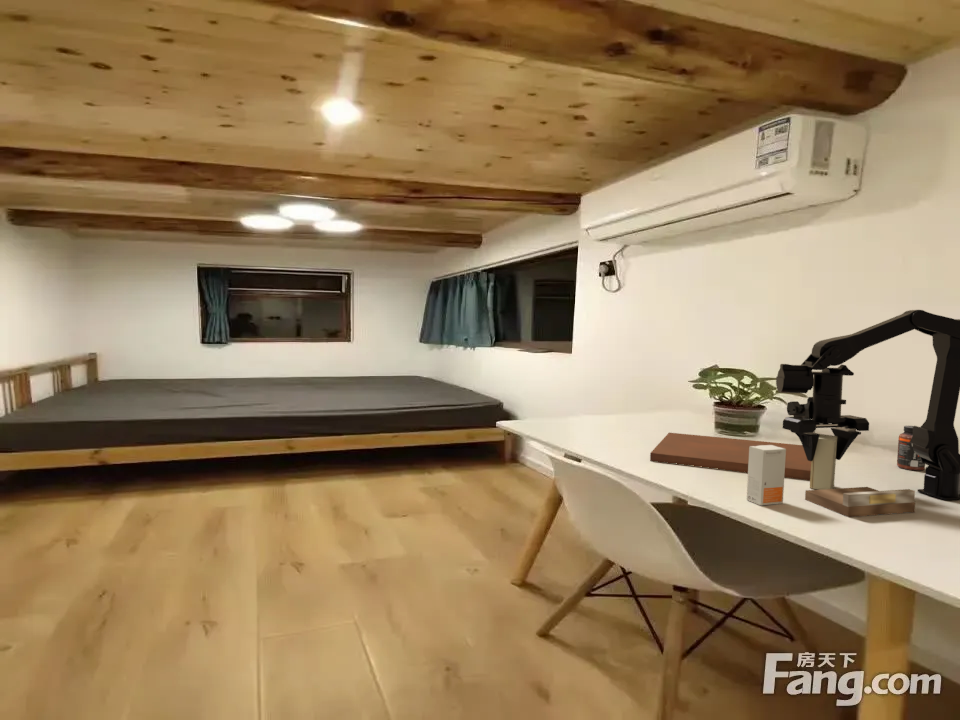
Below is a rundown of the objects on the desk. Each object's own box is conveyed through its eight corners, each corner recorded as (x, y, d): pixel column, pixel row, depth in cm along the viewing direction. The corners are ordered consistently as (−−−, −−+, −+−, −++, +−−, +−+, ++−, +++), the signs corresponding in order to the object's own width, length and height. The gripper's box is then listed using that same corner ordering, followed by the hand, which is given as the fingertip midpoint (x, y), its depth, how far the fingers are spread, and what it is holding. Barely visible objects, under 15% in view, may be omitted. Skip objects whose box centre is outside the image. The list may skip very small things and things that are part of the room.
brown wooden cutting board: (818, 484, 133) (809, 455, 162) (819, 471, 133) (809, 445, 162) (650, 463, 152) (668, 441, 181) (650, 452, 151) (668, 432, 180)
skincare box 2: (813, 482, 132) (816, 433, 131) (835, 486, 129) (837, 435, 128) (809, 488, 127) (811, 437, 126) (831, 492, 124) (834, 439, 123)
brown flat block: (866, 495, 122) (867, 476, 122) (915, 512, 111) (916, 491, 111) (805, 499, 119) (806, 479, 119) (848, 517, 108) (849, 495, 108)
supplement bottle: (921, 472, 142) (924, 429, 141) (893, 467, 146) (896, 426, 146) (927, 468, 146) (930, 427, 145) (900, 464, 150) (902, 423, 149)
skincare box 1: (761, 506, 114) (763, 450, 113) (745, 500, 118) (748, 445, 117) (784, 504, 116) (786, 448, 115) (768, 497, 120) (770, 444, 119)
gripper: (832, 389, 136) (829, 450, 137) (767, 390, 132) (764, 453, 133) (872, 395, 125) (869, 461, 126) (802, 396, 122) (799, 465, 123)
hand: (823, 460), depth 127 cm, fingers closed on skincare box 2, 7 cm apart
